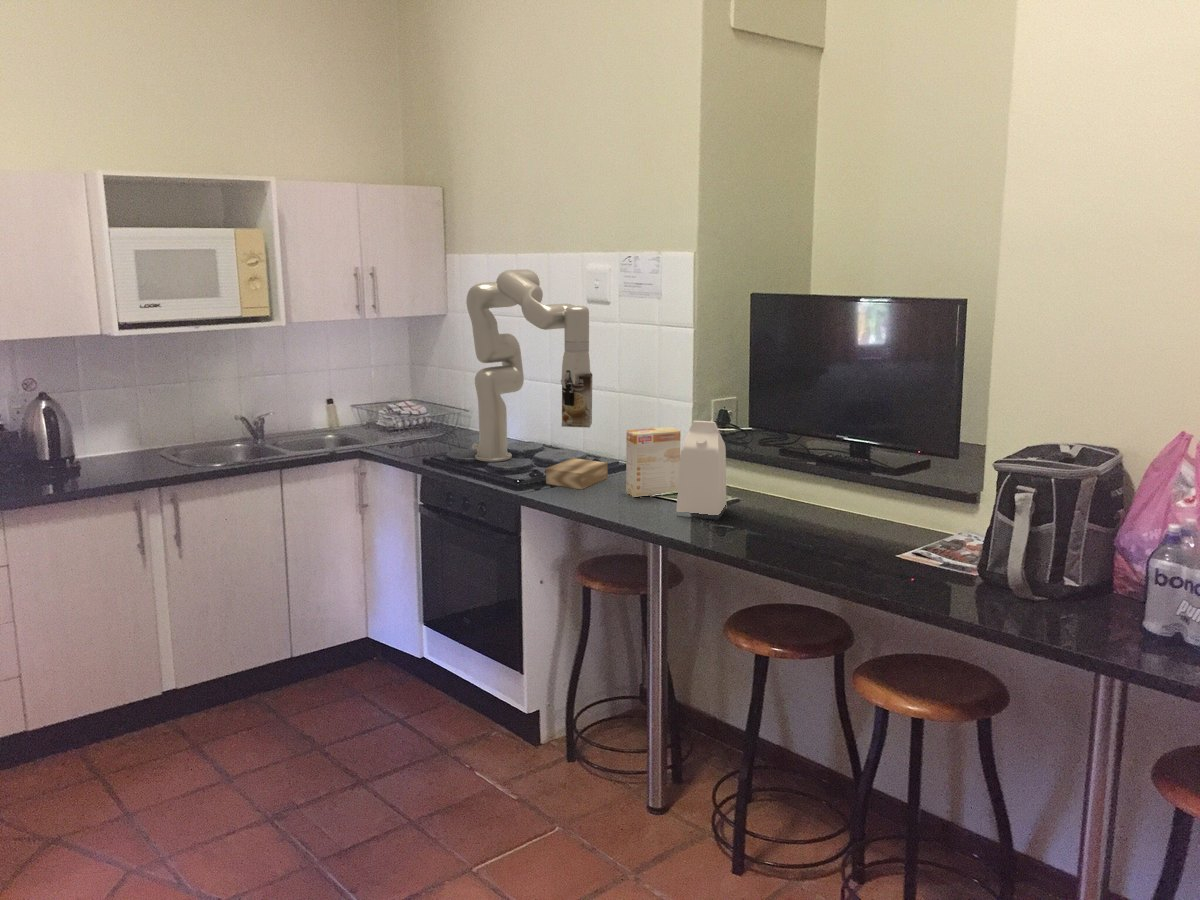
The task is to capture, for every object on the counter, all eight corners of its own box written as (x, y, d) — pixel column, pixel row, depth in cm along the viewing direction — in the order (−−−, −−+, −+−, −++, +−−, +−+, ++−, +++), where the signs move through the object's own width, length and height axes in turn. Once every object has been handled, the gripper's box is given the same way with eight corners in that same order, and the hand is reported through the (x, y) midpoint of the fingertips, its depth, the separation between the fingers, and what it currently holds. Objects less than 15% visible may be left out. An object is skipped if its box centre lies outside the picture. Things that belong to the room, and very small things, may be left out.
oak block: (546, 483, 301) (545, 468, 300) (572, 472, 315) (572, 458, 313) (581, 489, 295) (581, 473, 294) (607, 478, 308) (607, 462, 307)
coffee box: (560, 427, 298) (560, 375, 294) (563, 423, 304) (563, 372, 301) (590, 427, 297) (590, 376, 294) (592, 423, 303) (592, 373, 300)
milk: (726, 508, 275) (729, 419, 269) (718, 520, 264) (721, 426, 258) (685, 505, 278) (687, 416, 273) (675, 516, 268) (677, 424, 262)
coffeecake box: (671, 488, 296) (672, 426, 292) (680, 494, 290) (681, 430, 285) (625, 492, 291) (625, 429, 287) (633, 498, 285) (634, 433, 280)
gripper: (580, 343, 304) (580, 397, 308) (551, 349, 290) (551, 406, 293) (601, 344, 301) (601, 400, 305) (572, 350, 286) (572, 408, 290)
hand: (576, 402), depth 299 cm, fingers closed on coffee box, 8 cm apart
